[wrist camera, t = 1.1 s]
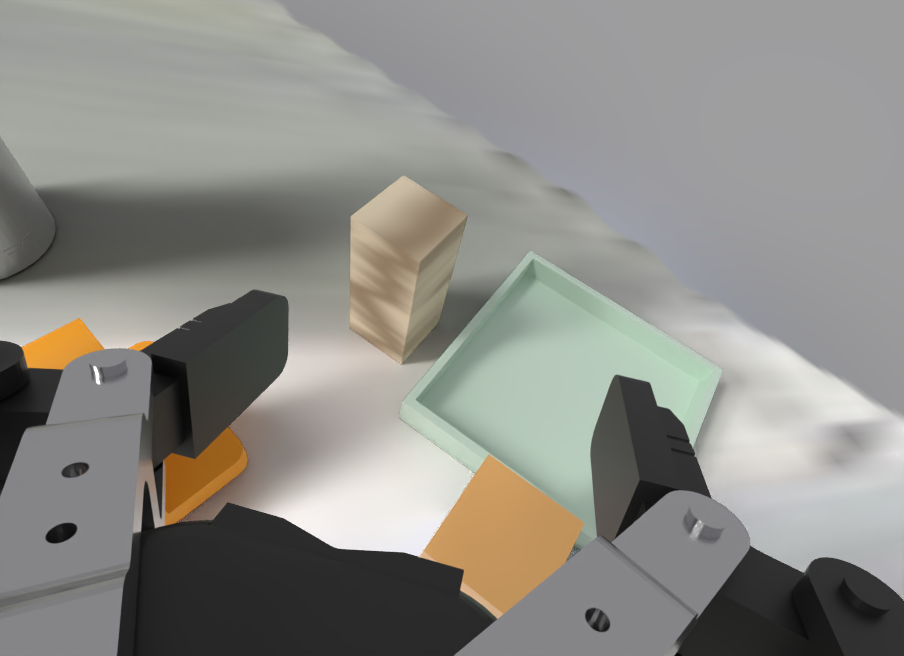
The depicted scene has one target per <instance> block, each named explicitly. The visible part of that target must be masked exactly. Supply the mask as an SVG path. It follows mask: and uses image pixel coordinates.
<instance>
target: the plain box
mask: <svg viewBox="0 0 904 656" xmlns="http://www.w3.org/2000/svg"><path fill="white" fill-rule="evenodd" d="M467 217H468V215H467V214H465V213H464V212H462V211H460V210H459V209H457V208H456V207H454V206H452V205H451V204H449V203H447V202H446V201H444V200H443V199H441V198H439V197H438V196H436V195H434V194H433V193H431V192H430V191H428V190H426V189H425V188H423V187H421V186H420V185H418V184H417V183H415V182H413V181H412V180H410V179H408V178H407V177H405V176H404V175H403V176H402V177H400V178H399V179H398V180H397V181H395V182H394V183H393V184H391V185H390V186H389V187H388V188H386V189H385V190H384V191H382V192H381V193H380V194H379V195H377V196H376V197H375V198H373V199H372V200H371V201H370V202H368V203H367V204H366V205H364V206H363V207H362V208H361V209H359V210H358V211H357V212H355V213H354V214H353V215H352V216H351V251H350V329H351V330H353V331H354V332H356V333H357V334H358V335H360V336H361V337H363V338H364V339H366V340H367V341H368V342H370V343H371V344H373V345H374V346H375V347H377V348H378V349H380V350H381V351H382V352H384V353H385V354H387V355H388V356H390V357H391V358H392V359H394V360H395V361H397V362H398V363H399V364H402V363H403V362H404V361H405V360H406V359H407V358H408V356H409V355H410V354H411V353H412V352H413V351H414V350H415V349H416V348H417V346H418V345H419V344H420V343H421V342H422V341H423V340H424V339H425V338H426V336H427V335H428V334H429V333H430V332H431V331H432V330H433V329H434V328H435V327H436V325H437V324H438V323H439V320H440V316H441V313H442V309H443V305H444V302H445V298H446V294H447V291H448V287H449V283H450V280H451V276H452V272H453V269H454V265H455V261H456V258H457V254H458V250H459V247H460V243H461V239H462V236H463V232H464V228H465V225H466V221H467Z"/></svg>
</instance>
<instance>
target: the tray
mask: <svg viewBox="0 0 904 656" xmlns="http://www.w3.org/2000/svg"><path fill="white" fill-rule="evenodd" d="M722 372H723V369H722V368H720V367H719V366H717V365H715V364H714V363H712V362H711V361H709V360H707V359H706V358H704V357H702V356H701V355H699V354H698V353H696V352H694V351H693V350H691V349H689V348H688V347H686V346H685V345H683V344H681V343H680V342H678V341H676V340H675V339H673V338H672V337H670V336H668V335H667V334H665V333H663V332H662V331H660V330H658V329H657V328H655V327H654V326H652V325H650V324H649V323H647V322H645V321H644V320H642V319H641V318H639V317H637V316H636V315H634V314H632V313H631V312H629V311H628V310H626V309H624V308H623V307H621V306H619V305H618V304H616V303H615V302H613V301H611V300H610V299H608V298H606V297H605V296H603V295H602V294H600V293H598V292H597V291H595V290H593V289H592V288H590V287H589V286H587V285H585V284H584V283H582V282H580V281H579V280H577V279H576V278H574V277H572V276H571V275H569V274H567V273H566V272H564V271H563V270H561V269H559V268H558V267H556V266H554V265H553V264H551V263H550V262H548V261H546V260H545V259H543V258H541V257H540V256H538V255H537V254H535V253H533V252H532V251H530V252H529V253H528V254H527V255H526V256H525V258H524V259H523V260H522V261H521V262H520V264H519V265H518V266H517V267H516V268H515V269H514V271H513V272H512V273H511V274H510V275H509V276H508V278H507V279H506V280H505V281H504V282H503V284H502V285H501V286H500V287H499V288H498V289H497V291H496V292H495V293H494V294H493V295H492V296H491V298H490V299H489V300H488V301H487V302H486V304H485V305H484V306H483V307H482V308H481V309H480V311H479V312H478V313H477V314H476V315H475V316H474V318H473V319H472V320H471V321H470V322H469V324H468V325H467V326H466V327H465V328H464V329H463V331H462V332H461V333H460V334H459V335H458V336H457V338H456V339H455V340H454V341H453V342H452V344H451V345H450V346H449V347H448V348H447V349H446V351H445V352H444V353H443V354H442V355H441V356H440V358H439V359H438V360H437V361H436V362H435V363H434V365H433V366H432V367H431V368H430V369H429V371H428V372H427V373H426V374H425V375H424V376H423V378H422V379H421V380H420V381H419V382H418V383H417V385H416V386H415V387H414V388H413V389H412V391H411V392H410V393H409V394H408V395H407V396H406V398H405V399H404V400H403V402H402V406H401V411H400V416H399V418H400V419H402V420H403V421H404V422H406V423H407V424H408V425H410V426H411V427H412V428H414V429H415V430H417V431H418V432H419V433H421V434H422V435H423V436H425V437H426V438H427V439H429V440H430V441H432V442H433V443H434V444H436V445H437V446H438V447H440V448H441V449H442V450H444V451H445V452H447V453H448V454H449V455H451V456H452V457H453V458H455V459H456V460H457V461H459V462H460V463H462V464H463V465H464V466H466V467H467V468H468V469H470V470H471V471H472V472H474V473H476V471H477V470H478V469H479V467H480V466H481V464H482V463H483V461H484V460H485V459H486V457H487V456H488V454H490V455H491V456H492V457H494V458H495V459H497V460H498V461H499V462H501V463H502V464H504V465H505V466H506V467H508V468H509V469H510V470H512V471H513V472H515V473H516V474H517V475H519V476H520V477H522V478H523V479H524V480H526V481H527V482H528V483H530V484H531V485H533V486H534V487H535V488H537V489H538V490H540V491H541V492H542V493H544V494H545V495H547V496H548V497H549V498H551V499H552V500H553V501H555V502H556V503H558V504H559V505H560V506H562V507H563V508H565V509H566V510H567V511H569V512H570V513H571V514H573V515H574V516H576V517H577V518H578V519H580V520H581V521H583V522H584V523H585V524H584V526H583V528H582V530H581V532H580V534H579V536H578V538H577V540H576V542H575V544H574V546H575V547H576V548H577V549H579V550H581V549H583V548H584V547H585V546H586V545H587V544H589V543H590V542H591V541H592V540H594V539H595V538H597V532H596V520H595V508H594V496H593V483H592V471H591V459H590V449H591V441H592V436H593V432H594V429H595V426H596V423H597V420H598V417H599V415H600V412H601V409H602V406H603V403H604V400H605V398H606V395H607V392H608V389H609V386H610V384H611V381H612V379H613V377H614V376H615V375H621V376H625V377H630V378H634V379H638V380H643V381H647V382H649V383H650V384H651V387H652V390H653V393H654V396H655V400H656V403H657V406H660V407H664V408H668V409H670V410H671V411H672V412H673V413H674V414H675V416H676V417H677V418H678V419H679V420H680V421H681V422H682V423H683V424H684V426H685V429H686V432H687V434H688V437H689V440H690V442H689V443H690V444H691V445H692V448H693V446H694V444H695V441H696V439H697V436H698V433H699V431H700V428H701V426H702V423H703V421H704V418H705V415H706V413H707V410H708V408H709V405H710V402H711V400H712V397H713V395H714V392H715V390H716V387H717V384H718V382H719V379H720V377H721V374H722Z"/></svg>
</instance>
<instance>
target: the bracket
mask: <svg viewBox="0 0 904 656" xmlns="http://www.w3.org/2000/svg"><path fill="white" fill-rule="evenodd" d="M152 343H154V342H151V341H144V342H140V343H137V344H135V345H134V346H132V347H130V348H128V349H133V350H137V351H140V350H142V349H144V348H145V347H147V346H149V345H150V344H152ZM21 348H22V349H23V351H24V355H25V359H26V363H27V367H28V368H44V369H64V368H65V367H66V366H67V365H68V364H69V363H70V362H71V361H73V360H74V359H76V358H78V357H80V356H83V355H85V354H88V353H91V352H95V351H100V350H105V349H104V348H103V347H102V345H101V344H100V343H99V342H98V340H97V339H96V338H95V337H94V335H93V334H92V333H91V332H90V330H89V329H88V328H87V327H86V325H85V324H84V323H83V322H82V320H81V319H80V318H78V319H76V320H75V321H73V322H71V323H69V324H67V325H65V326H63V327H61V328H59V329H57V330H55V331H53V332H51V333H49V334H47V335H45V336H43V337H41V338H39V339H37V340H35V341H33V342H31V343H29V344H27V345H25V346H23V347H21ZM164 462H165V470H166V481H165V525H170V524H174V523H177V522H178V521H179V520H181V519H182V518H183V517H185V516H186V515H187V514H188V513H190V512H191V511H192V510H194V509H195V508H196V507H198V506H199V505H200V504H201V503H203V502H204V501H205V500H207V499H208V498H209V497H211V496H212V495H213V494H214V493H216V492H217V491H218V490H220V489H221V488H222V487H223V486H225V485H226V484H227V483H229V482H230V481H231V480H233V479H234V478H235V477H236V476H238V475H239V474H240V473H242V472H243V470H244V469H245V468H246V466H247V463H248V456H247V453H246V451H245V449H244V447H243V445H242V443H241V441H240V440H239V439H238V438H237V436H236V435H235V434H234V433H233V432H232V431H231V429H230V428H229V427H227V428H226V429H225V430H224V431H223V432H222V433H221V434H220V435H219V436H218V437H217V438H216V439H215V440H214V441H213V442H212V443H211V444H210V445H209V446H208V447H207V448H206V449H205V450H204V451H203V452H202V453H201V454H200V455H199V456H198V457H197V458H196V459H192V458H188V457H185V456H181V455H178V454H174V453H171V454H170V455H169V456H168V457H167V458H166V459H165V460H164Z"/></svg>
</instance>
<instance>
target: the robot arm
mask: <svg viewBox="0 0 904 656" xmlns="http://www.w3.org/2000/svg"><path fill="white" fill-rule="evenodd" d="M54 235H55V222H54V218H53V216H52V214H51V213H50V211H49V210H48V208H47V207H46V205H45V204H44V202H43V201H42V199H41V198H40V196H39V195H38V193H37V192H36V190H35V189H34V187H33V186H32V184H31V183H30V181H29V180H28V178H27V176H26V175H25V173H24V172H23V170H22V169H21V167H20V166H19V164H18V163H17V161H16V160H15V158H14V157H13V155H12V154H11V152H10V151H9V149H8V148H7V146H6V145H5V143H4V142H3V140H2V139H1V137H0V279H3V278H6V277H9V276H11V275H13V274H15V273H17V272H19V271H22V270H23V269H25V268H26V267H28V266H29V265H31V264H32V263H34V262H35V261H36V260H37V259H39V258H40V257H41V256H42V255H43V254H44V253H45V252H46V250H47V249H48V247H49V246H50V245H51V243H52V241H53V238H54ZM287 356H288V301H287V299H286V297H284V296H281V295H277V294H273V293H268V292H264V291H260V290H252V291H250V292H249V293H247V294H245V295H244V296H242V297H241V298H239V299H237V300H236V301H234V302H233V303H231V304H230V303H229V304H225V305H222V306H219V307H215V308H212V309H208V310H207V311H205V312H203V313H202V314H200V315H198V316H197V317H195V318H193V321H188V322H187V323H185V324H184V325H182V326H180V329H178V328H177V329H175V330H174V331H172V332H170V333H169V334H167V335H165V336H164V337H162V338H160V339H159V340H157V341H155V342H154V343H152V344H150V345H149V346H147V347H145V348H144V349H142V350H140V351H137V350H133V349H120V348H119V349H105V350H100V351H95V352H91V353H88V354H85V355H83V356H80V357H78V358H76V359H74V360H73V361H71V362H70V363H69V364H68V365H67V366H66V367H65V368H64V369H44V368H28V367H27V363H26V359H25V355H24V351H23V349H22V348H21V347H20V346H19V345H17V344H15V343H11V342H6V341H0V656H904V601H903V599H902V598H901V597H900V596H899V595H898V594H897V593H896V592H894V591H893V590H892V589H891V588H890V587H889V586H887V585H886V584H885V583H883V582H882V581H881V580H879V579H878V578H877V577H875V576H873V575H872V574H870V573H869V572H867V571H865V570H863V569H861V568H860V567H857V566H855V565H853V564H851V563H848V562H845V561H842V560H839V559H835V558H827V557H826V558H818V559H815V560H814V561H812V562H811V564H810V565H809V566H808V568H807V569H806V571H805V572H804V573H803V572H800V571H798V570H796V569H794V568H792V567H790V566H788V565H786V564H784V563H782V562H780V561H778V560H776V559H774V558H772V557H770V556H768V555H766V554H764V553H762V552H760V551H758V550H756V549H755V548H753V547H752V546H750V538H749V535H748V532H747V530H746V529H745V527H744V525H743V524H742V523H741V521H740V520H739V519H738V518H737V517H736V516H735V515H734V514H733V513H732V512H731V511H730V510H728V509H727V508H726V507H724V506H723V505H722V504H720V503H718V502H717V501H715V500H713V499H712V498H711V496H710V493H709V490H708V488H707V485H706V482H705V480H704V477H703V474H702V472H701V469H700V466H699V464H698V461H697V458H696V457H694V455H695V453H694V450H693V448H692V445H691V444H690V443H689V442H690V440H689V437H688V434H687V432H686V429H685V426H684V424H683V423H682V422H681V421H680V420H679V419H678V418H677V417H676V416H675V414H674V413H673V412H672V411H671V410H670V409H668V408H664V407H660V406H657V403H656V400H655V396H654V393H653V390H652V387H651V384H650V383H649V382H647V381H643V380H638V379H634V378H630V377H625V376H621V375H615V376H614V377H613V379H612V381H611V384H610V386H609V389H608V392H607V395H606V398H605V400H604V403H603V406H602V409H601V412H600V415H599V417H598V420H597V423H596V426H595V429H594V432H593V436H592V441H591V449H590V459H591V471H592V483H593V496H594V508H595V520H596V532H597V538H595V539H594V540H592V541H591V542H590V543H589V544H587V545H586V546H585V547H584V548H583V549H581V550H580V551H579V552H578V553H577V554H575V555H574V556H573V557H572V558H571V559H569V560H568V561H567V562H566V563H565V564H563V565H562V566H561V567H560V568H559V569H557V570H556V571H555V572H554V573H553V574H551V575H550V576H549V577H548V578H547V579H545V580H544V581H543V582H542V583H540V584H539V585H538V586H537V587H536V588H534V589H533V590H532V591H531V592H530V593H528V594H527V595H526V596H525V597H524V598H522V599H521V600H520V601H519V602H518V603H516V604H515V605H514V606H513V607H512V608H510V609H509V610H508V611H507V612H506V613H504V614H503V615H502V616H501V617H500V618H498V619H497V618H496V617H495V616H494V615H493V614H492V613H491V612H490V611H489V610H488V609H487V608H485V607H484V606H483V605H482V604H480V603H479V602H478V601H476V600H475V599H474V598H472V597H471V596H469V595H467V594H466V593H464V592H462V591H461V590H460V589H461V584H462V579H463V574H464V570H463V569H460V568H456V567H453V566H449V565H446V564H442V563H439V562H435V561H432V560H428V559H425V558H421V557H418V556H414V555H411V554H407V553H402V552H383V551H365V550H346V549H338V548H334V547H332V546H330V545H328V544H327V543H325V542H323V541H321V540H320V539H318V538H316V537H315V536H313V535H311V534H309V533H308V532H306V531H304V530H303V529H301V528H299V527H297V526H296V525H294V524H292V523H291V522H289V521H287V520H285V519H284V518H280V517H277V516H273V515H270V514H266V513H263V512H259V511H256V510H252V509H249V508H245V507H242V506H238V505H235V504H231V503H227V504H226V505H225V506H224V508H223V509H222V510H221V511H220V512H219V514H218V515H217V516H216V517H215V519H214V520H201V521H188V522H180V523H174V524H170V525H165V481H166V470H165V462H164V460H165V459H166V458H167V457H168V456H169V455H170V454H171V453H174V454H178V455H181V456H185V457H188V458H192V459H196V458H197V457H198V456H199V455H200V454H201V453H202V452H203V451H204V450H205V449H206V448H207V447H208V446H209V445H210V444H211V443H212V442H213V441H214V440H215V439H216V438H217V437H218V436H219V435H220V434H221V433H222V432H223V431H224V430H225V429H226V428H227V427H228V426H229V425H230V424H231V423H232V422H233V421H234V420H235V419H236V418H237V417H238V416H239V415H240V414H241V413H242V412H243V411H244V410H245V409H246V408H247V407H248V406H249V405H250V404H251V403H252V402H253V401H254V400H255V399H256V398H257V397H258V396H259V395H260V394H261V393H262V392H264V391H265V390H266V389H267V388H268V387H269V386H270V385H271V384H272V383H273V382H274V381H275V380H276V379H277V378H278V377H279V375H280V374H281V373H282V371H283V369H284V367H285V364H286V361H287Z"/></svg>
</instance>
